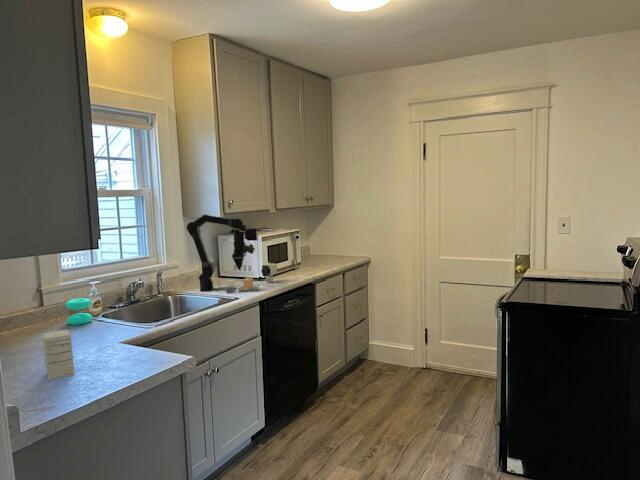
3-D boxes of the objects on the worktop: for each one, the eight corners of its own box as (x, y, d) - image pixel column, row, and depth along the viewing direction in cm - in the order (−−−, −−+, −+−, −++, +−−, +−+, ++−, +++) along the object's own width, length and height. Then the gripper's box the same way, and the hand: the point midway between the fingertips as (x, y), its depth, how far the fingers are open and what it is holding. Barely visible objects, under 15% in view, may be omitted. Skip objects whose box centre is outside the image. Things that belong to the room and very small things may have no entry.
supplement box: (46, 373, 146) (42, 333, 145) (73, 367, 150) (69, 328, 149) (46, 380, 140) (42, 338, 139) (74, 375, 144) (71, 334, 142)
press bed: (238, 292, 258) (238, 290, 258) (239, 289, 266) (239, 287, 266) (257, 291, 259) (257, 289, 259) (257, 288, 267) (257, 286, 267)
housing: (243, 289, 260) (243, 278, 259) (244, 287, 265) (243, 277, 264) (252, 288, 260) (252, 278, 260) (253, 287, 265) (252, 276, 265)
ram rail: (226, 293, 258) (226, 287, 257) (229, 288, 271) (228, 283, 271) (232, 292, 258) (232, 287, 258) (234, 287, 272) (234, 282, 271)
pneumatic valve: (261, 284, 280) (260, 263, 279) (271, 280, 291) (270, 261, 290) (269, 284, 278) (268, 264, 277) (279, 280, 289) (278, 261, 288)
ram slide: (228, 287, 268) (227, 281, 267) (228, 286, 271) (228, 280, 271) (234, 286, 268) (233, 280, 268) (234, 285, 271) (234, 279, 271)
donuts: (69, 303, 199) (62, 300, 206) (71, 327, 200) (64, 323, 207) (94, 299, 206) (86, 296, 213) (96, 322, 207) (88, 318, 214)
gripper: (252, 242, 257) (253, 270, 259) (254, 238, 276) (255, 265, 277) (231, 242, 256) (232, 271, 258) (235, 239, 275) (236, 266, 276)
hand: (240, 268), depth 267 cm, fingers open, 9 cm apart
